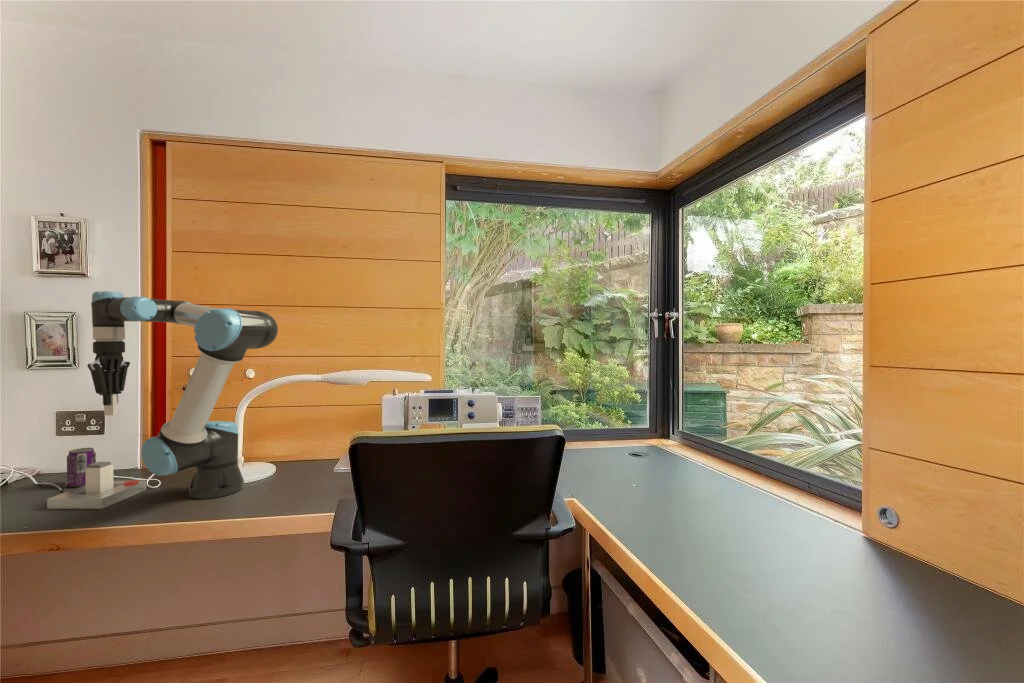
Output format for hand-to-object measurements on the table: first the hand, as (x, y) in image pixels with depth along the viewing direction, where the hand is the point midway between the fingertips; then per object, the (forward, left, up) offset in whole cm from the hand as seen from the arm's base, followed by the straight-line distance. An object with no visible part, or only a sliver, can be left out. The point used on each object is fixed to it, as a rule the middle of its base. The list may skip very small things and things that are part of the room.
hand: (110, 415), depth 138 cm
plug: (+2, +1, -26) cm, 26 cm away
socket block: (+2, +1, -26) cm, 26 cm away
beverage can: (+20, -12, -26) cm, 35 cm away
